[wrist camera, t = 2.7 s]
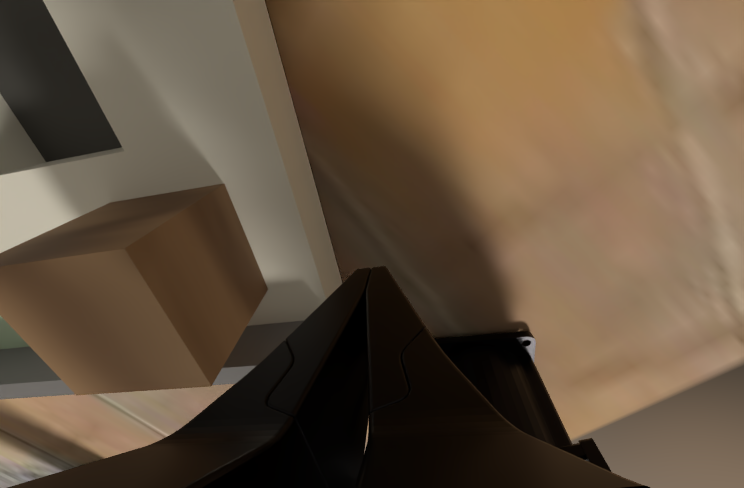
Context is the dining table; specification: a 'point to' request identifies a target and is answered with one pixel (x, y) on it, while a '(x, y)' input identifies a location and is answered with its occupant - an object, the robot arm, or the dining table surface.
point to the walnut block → (136, 292)
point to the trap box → (157, 144)
